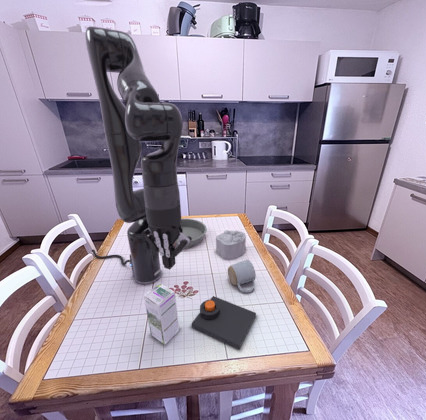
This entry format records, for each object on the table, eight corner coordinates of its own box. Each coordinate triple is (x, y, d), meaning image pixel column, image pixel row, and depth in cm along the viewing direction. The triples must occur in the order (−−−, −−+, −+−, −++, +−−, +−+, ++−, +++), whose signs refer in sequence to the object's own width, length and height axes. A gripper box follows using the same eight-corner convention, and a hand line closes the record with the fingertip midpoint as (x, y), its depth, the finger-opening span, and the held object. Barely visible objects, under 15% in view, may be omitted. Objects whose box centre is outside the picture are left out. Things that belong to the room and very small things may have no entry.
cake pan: (183, 257, 99) (182, 248, 97) (144, 241, 111) (142, 232, 109) (216, 234, 118) (216, 226, 116) (180, 222, 130) (179, 214, 128)
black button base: (190, 326, 68) (189, 317, 66) (212, 299, 78) (211, 291, 76) (239, 350, 61) (239, 340, 60) (255, 316, 71) (256, 308, 70)
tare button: (203, 309, 70) (202, 305, 69) (208, 302, 72) (208, 298, 71) (211, 313, 68) (211, 309, 68) (216, 306, 71) (216, 302, 70)
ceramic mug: (226, 278, 87) (226, 261, 84) (245, 272, 91) (246, 255, 88) (239, 297, 79) (240, 279, 76) (260, 289, 82) (262, 272, 79)
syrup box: (180, 330, 67) (176, 290, 61) (164, 346, 62) (158, 304, 56) (165, 321, 69) (160, 281, 64) (149, 336, 65) (142, 295, 59)
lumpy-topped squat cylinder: (213, 250, 104) (213, 233, 101) (236, 241, 112) (236, 225, 108) (227, 261, 97) (227, 243, 94) (250, 251, 104) (251, 234, 101)
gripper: (197, 201, 53) (200, 264, 60) (149, 192, 57) (157, 253, 64) (178, 213, 46) (184, 283, 53) (126, 203, 51) (137, 269, 58)
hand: (169, 266), depth 58 cm, fingers closed
